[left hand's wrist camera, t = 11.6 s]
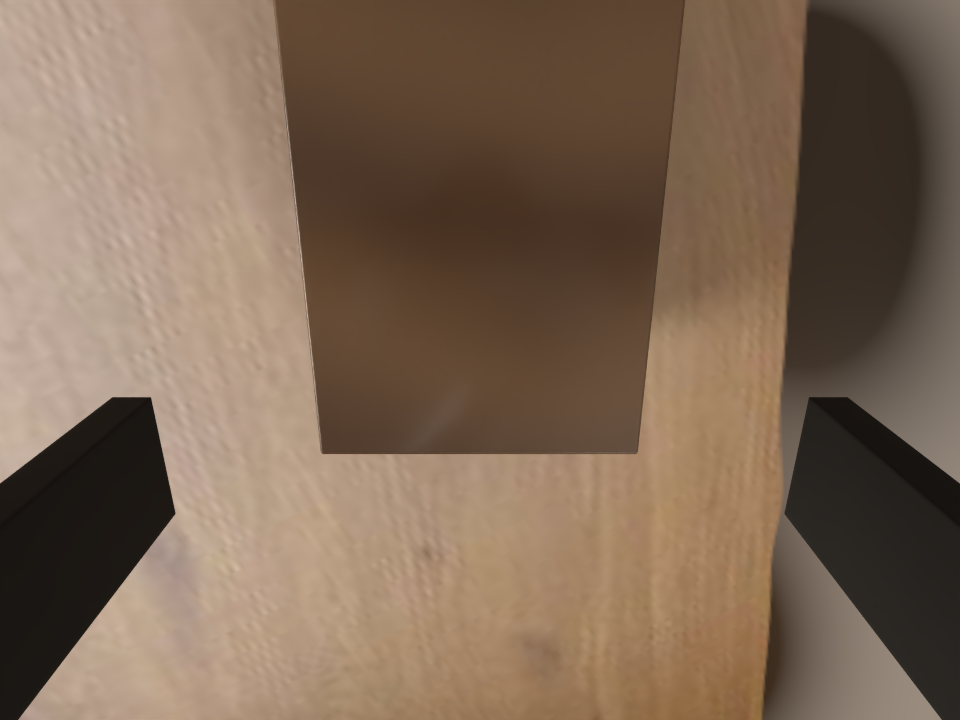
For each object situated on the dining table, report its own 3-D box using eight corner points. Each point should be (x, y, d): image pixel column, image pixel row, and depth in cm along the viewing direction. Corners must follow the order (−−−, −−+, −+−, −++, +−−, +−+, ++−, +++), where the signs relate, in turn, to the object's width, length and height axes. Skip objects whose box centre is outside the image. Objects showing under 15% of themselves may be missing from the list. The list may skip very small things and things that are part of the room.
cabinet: (349, -47, 26) (254, -164, 15) (609, -47, 26) (703, -164, 15) (374, 340, 32) (320, 454, 21) (584, 340, 32) (638, 454, 21)
